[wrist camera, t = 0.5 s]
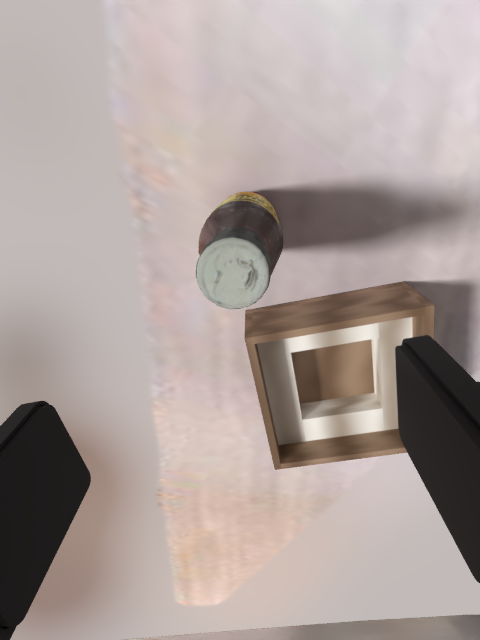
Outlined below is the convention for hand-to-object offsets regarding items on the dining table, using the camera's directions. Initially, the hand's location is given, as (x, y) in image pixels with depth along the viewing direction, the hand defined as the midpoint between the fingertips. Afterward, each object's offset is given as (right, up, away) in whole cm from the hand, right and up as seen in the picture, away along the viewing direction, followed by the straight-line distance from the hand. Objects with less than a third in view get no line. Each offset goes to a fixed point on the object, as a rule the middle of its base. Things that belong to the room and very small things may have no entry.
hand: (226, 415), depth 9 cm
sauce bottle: (+1, +13, +27) cm, 30 cm away
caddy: (+12, -3, +34) cm, 36 cm away
